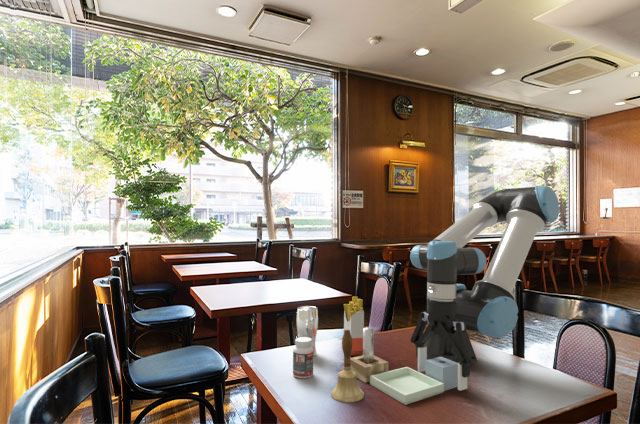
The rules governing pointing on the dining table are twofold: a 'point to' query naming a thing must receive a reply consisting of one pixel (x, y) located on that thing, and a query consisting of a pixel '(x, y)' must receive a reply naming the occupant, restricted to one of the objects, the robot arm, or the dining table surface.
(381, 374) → the tray
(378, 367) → the oak block
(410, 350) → the dining table surface
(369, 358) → the cylinder
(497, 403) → the dining table surface
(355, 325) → the french fries container
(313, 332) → the beer glass
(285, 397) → the dining table surface
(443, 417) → the dining table surface
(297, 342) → the pill bottle
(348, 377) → the hand bell
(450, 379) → the slate-blue block
